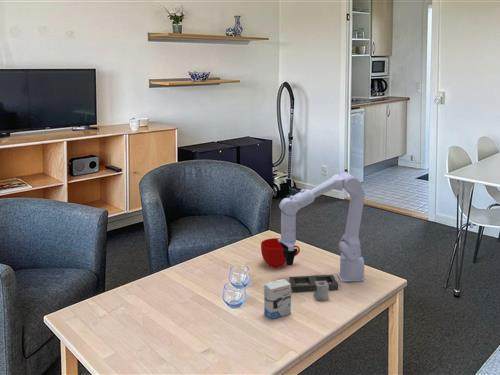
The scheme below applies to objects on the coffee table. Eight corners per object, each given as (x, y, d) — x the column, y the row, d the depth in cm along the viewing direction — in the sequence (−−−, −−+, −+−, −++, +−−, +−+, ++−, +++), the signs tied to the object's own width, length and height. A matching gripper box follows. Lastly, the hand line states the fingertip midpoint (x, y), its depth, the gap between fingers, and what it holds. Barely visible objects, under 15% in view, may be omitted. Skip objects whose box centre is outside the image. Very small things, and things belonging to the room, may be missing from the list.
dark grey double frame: (332, 280, 205) (332, 274, 204) (338, 290, 196) (338, 284, 196) (288, 282, 204) (289, 276, 203) (292, 292, 195) (292, 286, 194)
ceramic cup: (300, 270, 214) (301, 248, 211) (261, 271, 214) (260, 249, 212) (298, 258, 227) (298, 237, 224) (260, 259, 227) (260, 238, 224)
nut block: (325, 294, 193) (326, 280, 191) (328, 300, 189) (328, 285, 187) (314, 295, 192) (314, 280, 191) (316, 301, 188) (316, 286, 187)
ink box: (270, 319, 175) (270, 289, 172) (263, 313, 180) (263, 283, 177) (291, 313, 179) (291, 283, 176) (284, 307, 183) (284, 278, 180)
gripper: (275, 223, 203) (275, 254, 206) (280, 235, 189) (280, 269, 192) (293, 222, 203) (293, 253, 207) (299, 234, 189) (298, 268, 193)
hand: (288, 261), depth 200 cm, fingers open, 7 cm apart
